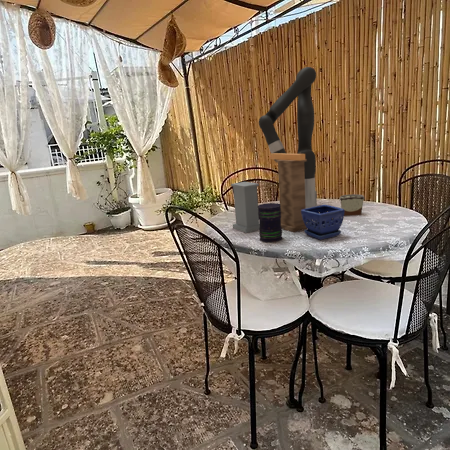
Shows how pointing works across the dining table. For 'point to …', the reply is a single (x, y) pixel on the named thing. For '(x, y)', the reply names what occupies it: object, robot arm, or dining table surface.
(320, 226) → the flower pot
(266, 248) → the dining table surface
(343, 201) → the food container
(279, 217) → the storage jar
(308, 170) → the robot arm
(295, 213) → the tall stand
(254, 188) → the grey tall block
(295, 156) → the orange rectangular block
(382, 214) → the dining table surface
